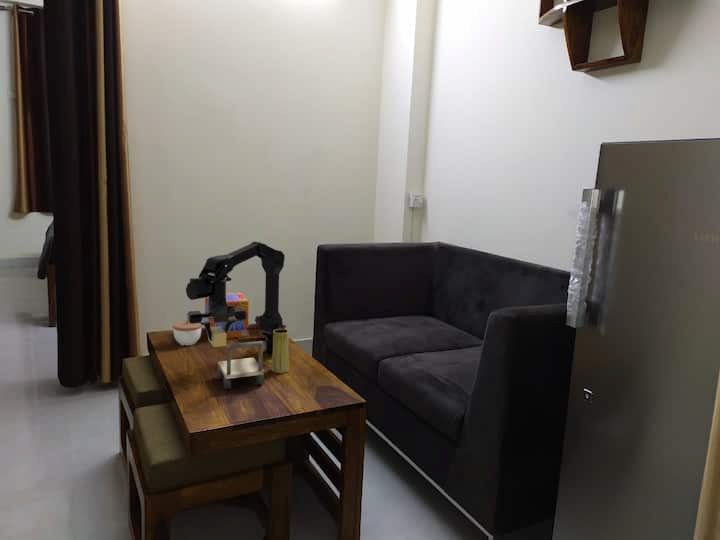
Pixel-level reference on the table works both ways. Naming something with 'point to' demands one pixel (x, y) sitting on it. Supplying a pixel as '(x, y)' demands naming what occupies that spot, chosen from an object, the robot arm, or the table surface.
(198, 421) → the table surface
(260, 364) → the trolley
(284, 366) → the vase
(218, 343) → the block
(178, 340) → the lidded jar
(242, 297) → the game box
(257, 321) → the wooden carving
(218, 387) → the table surface
